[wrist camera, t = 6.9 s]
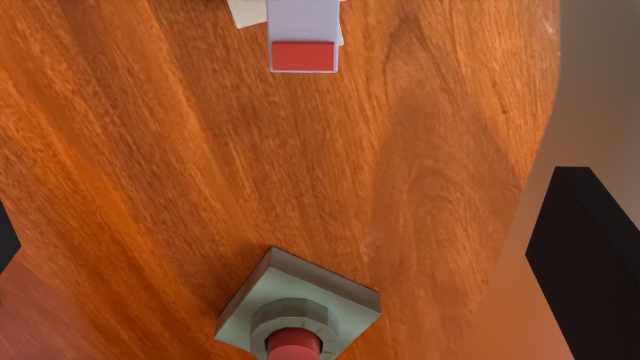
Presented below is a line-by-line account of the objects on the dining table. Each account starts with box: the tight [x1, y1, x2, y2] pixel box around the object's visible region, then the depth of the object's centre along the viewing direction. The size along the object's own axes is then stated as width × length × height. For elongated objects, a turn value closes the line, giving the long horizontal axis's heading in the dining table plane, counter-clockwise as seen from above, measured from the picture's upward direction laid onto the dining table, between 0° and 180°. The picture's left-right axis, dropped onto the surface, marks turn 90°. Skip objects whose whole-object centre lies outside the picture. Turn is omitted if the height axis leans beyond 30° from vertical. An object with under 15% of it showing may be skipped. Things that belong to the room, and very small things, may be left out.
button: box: [266, 327, 320, 360], centre depth 38 cm, size 4×4×2 cm
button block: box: [214, 246, 381, 360], centre depth 40 cm, size 10×10×4 cm
